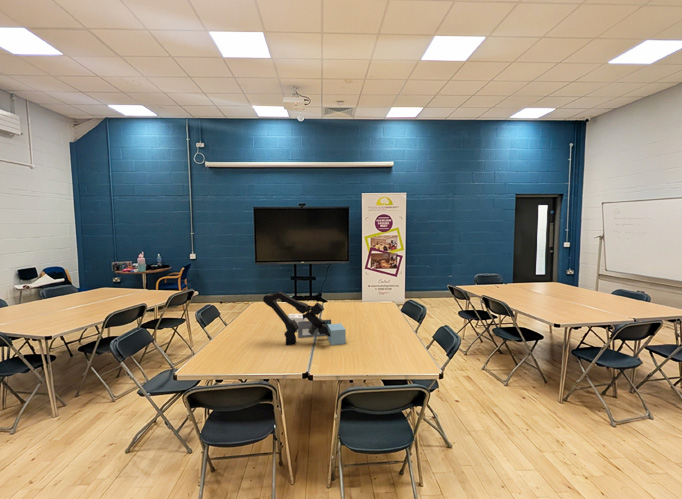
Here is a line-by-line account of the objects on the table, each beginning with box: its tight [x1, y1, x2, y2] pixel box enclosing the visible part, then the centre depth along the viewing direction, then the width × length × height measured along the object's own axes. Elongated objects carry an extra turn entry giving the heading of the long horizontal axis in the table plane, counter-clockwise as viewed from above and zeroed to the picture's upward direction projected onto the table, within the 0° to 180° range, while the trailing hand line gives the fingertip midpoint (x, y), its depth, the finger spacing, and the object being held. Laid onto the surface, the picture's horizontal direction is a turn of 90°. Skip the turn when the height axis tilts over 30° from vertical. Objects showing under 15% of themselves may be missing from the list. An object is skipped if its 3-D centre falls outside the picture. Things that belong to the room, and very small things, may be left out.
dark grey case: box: [297, 318, 332, 339], centre depth 219 cm, size 30×25×12 cm
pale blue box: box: [326, 323, 347, 346], centre depth 216 cm, size 10×14×10 cm
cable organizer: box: [285, 313, 308, 333], centre depth 242 cm, size 15×11×12 cm
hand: (328, 334), depth 213 cm, fingers open, 9 cm apart
